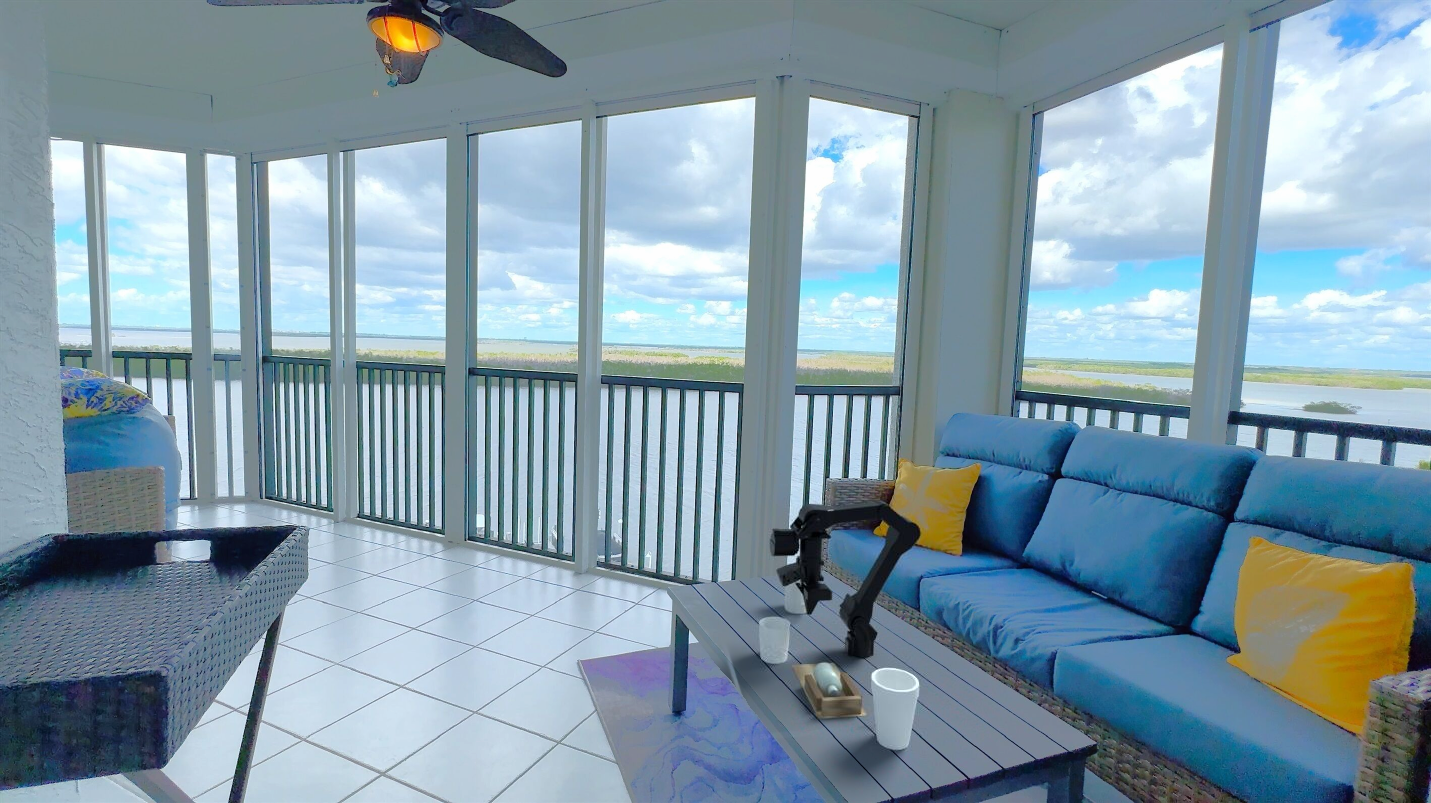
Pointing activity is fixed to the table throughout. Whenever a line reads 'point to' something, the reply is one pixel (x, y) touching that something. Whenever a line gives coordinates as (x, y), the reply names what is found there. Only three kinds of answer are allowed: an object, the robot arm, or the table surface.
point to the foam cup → (894, 706)
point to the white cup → (774, 639)
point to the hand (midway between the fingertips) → (808, 614)
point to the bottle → (827, 680)
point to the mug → (794, 599)
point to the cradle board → (830, 706)
